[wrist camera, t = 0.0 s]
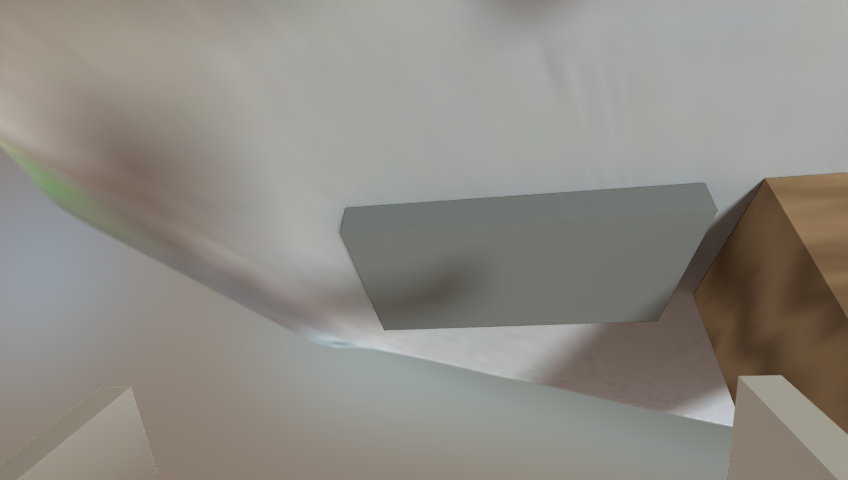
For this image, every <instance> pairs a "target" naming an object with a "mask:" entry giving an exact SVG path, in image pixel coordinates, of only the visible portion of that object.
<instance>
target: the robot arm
mask: <svg viewBox="0 0 848 480" xmlns="http://www.w3.org/2000/svg"><path fill="white" fill-rule="evenodd" d="M0 480H160V479H159V476H158V473H157V470H156V466H155V463H154V460H153V457H152V453H151V451H150V447H149V444H148V440H147V437H146V434H145V431H144V427H143V425H142V421H141V418H140V414H139V411H138V408H137V404H136V401H135V398H134V395H133V392H132V388H131V387H101V388H100V389H98V390H97V391H96V392H95V393H93V394H92V395H90V396H89V397H88V398H87V399H85V400H84V401H83V402H81V403H80V404H79V405H77V406H76V407H75V408H73V409H72V410H71V411H69V412H68V413H67V414H65V415H64V416H63V417H61V418H60V419H59V420H57V421H56V422H55V423H53V424H52V425H51V426H49V427H48V428H47V429H45V430H44V431H43V432H41V433H40V434H39V435H37V436H36V437H35V438H33V439H32V440H31V441H30V442H28V443H27V444H25V445H24V446H23V447H21V448H20V449H19V450H17V451H16V452H15V453H14V454H12V455H11V456H10V457H8V458H7V459H6V460H4V461H3V462H2V463H0ZM727 480H848V434H847V433H845V432H844V431H843V430H842V429H841V428H840V427H839V426H838V425H836V424H835V423H834V422H833V421H832V420H831V419H830V418H829V417H827V416H826V415H825V414H824V413H823V412H822V411H821V410H820V409H819V408H817V407H816V406H815V405H814V404H813V403H812V402H811V401H810V400H808V399H807V398H806V397H805V396H804V395H803V394H802V393H801V392H800V391H798V390H797V389H796V388H795V387H794V386H793V385H792V384H791V383H789V382H788V381H787V380H786V379H785V378H784V377H783V376H782V375H765V376H738V385H737V394H736V404H735V413H734V422H733V433H732V441H731V450H730V460H729V469H728V479H727Z"/></svg>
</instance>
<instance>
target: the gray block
mask: <svg viewBox="0 0 848 480" xmlns="http://www.w3.org/2000/svg"><path fill="white" fill-rule="evenodd" d="M717 211H718V210H717V208H716V206H715V204H714V201H713V199H712V197H711V195H710V193H709V191H708V189H707V187H706V185H705V183H695V184H680V185H666V186H652V187H638V188H623V189H609V190H595V191H581V192H566V193H552V194H538V195H523V196H509V197H495V198H481V199H466V200H452V201H438V202H424V203H409V204H395V205H381V206H366V207H352V208H345V212H344V218H343V223H342V228H341V234H340V235H341V237H342V239H343V241H344V243H345V246H346V248H347V250H348V252H349V254H350V256H351V259H352V261H353V263H354V265H355V267H356V270H357V272H358V274H359V276H360V278H361V281H362V283H363V285H364V287H365V289H366V291H367V294H368V296H369V298H370V300H371V302H372V305H373V307H374V309H375V311H376V313H377V316H378V318H379V320H380V322H381V324H382V326H383V329H384V330H407V329H437V328H467V327H497V326H527V325H557V324H587V323H617V322H647V321H658V319H659V318H660V316H661V314H662V312H663V310H664V308H665V307H666V305H667V303H668V301H669V299H670V297H671V296H672V294H673V292H674V290H675V288H676V287H677V285H678V283H679V281H680V279H681V277H682V276H683V274H684V272H685V270H686V268H687V266H688V265H689V263H690V261H691V259H692V257H693V255H694V254H695V252H696V250H697V248H698V246H699V244H700V243H701V241H702V239H703V237H704V235H705V233H706V232H707V230H708V228H709V226H710V224H711V222H712V221H713V219H714V217H715V215H716V213H717Z"/></svg>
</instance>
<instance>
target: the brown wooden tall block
mask: <svg viewBox="0 0 848 480" xmlns="http://www.w3.org/2000/svg"><path fill="white" fill-rule="evenodd" d="M693 296H694V299H695V301H696V304H697V307H698V309H699V312H700V315H701V317H702V320H703V323H704V325H705V328H706V331H707V333H708V336H709V339H710V341H711V344H712V347H713V349H714V352H715V355H716V357H717V360H718V363H719V365H720V368H721V371H722V373H723V376H724V379H725V381H726V384H727V387H728V389H729V392H730V395H731V397H732V400H733V403H734V406H735V404H736V394H737V385H738V376H765V375H782V376H783V377H784V378H785V379H786V380H787V381H788V382H789V383H791V384H792V385H793V386H794V387H795V388H796V389H797V390H798V391H800V392H801V393H802V394H803V395H804V396H805V397H806V398H807V399H808V400H810V401H811V402H812V403H813V404H814V405H815V406H816V407H817V408H819V409H820V410H821V411H822V412H823V413H824V414H825V415H826V416H827V417H829V418H830V419H831V420H832V421H833V422H834V423H835V424H836V425H838V426H839V427H840V428H841V429H842V430H843V431H844V432H845V433H847V434H848V173H837V174H823V175H809V176H795V177H780V178H766V179H765V180H764V181H763V183H762V185H761V186H760V188H759V190H758V191H757V193H756V194H755V196H754V198H753V199H752V201H751V203H750V204H749V206H748V207H747V209H746V211H745V212H744V214H743V215H742V217H741V219H740V220H739V222H738V224H737V225H736V227H735V228H734V230H733V232H732V233H731V235H730V237H729V238H728V240H727V241H726V243H725V245H724V246H723V248H722V249H721V251H720V253H719V254H718V256H717V258H716V259H715V261H714V262H713V264H712V266H711V267H710V269H709V271H708V272H707V274H706V275H705V277H704V279H703V280H702V282H701V283H700V285H699V287H698V288H697V290H696V292H695V293H694V295H693Z"/></svg>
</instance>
